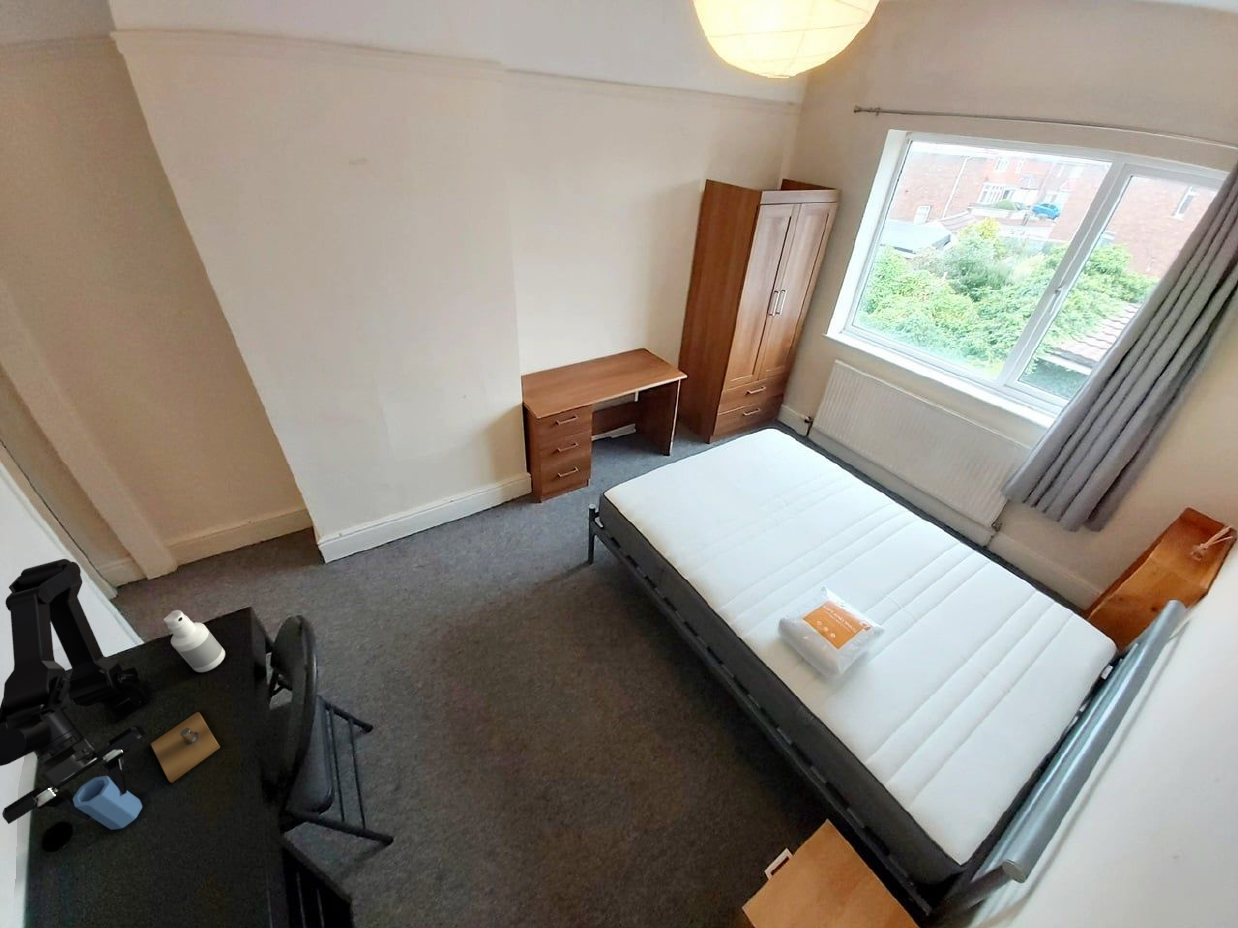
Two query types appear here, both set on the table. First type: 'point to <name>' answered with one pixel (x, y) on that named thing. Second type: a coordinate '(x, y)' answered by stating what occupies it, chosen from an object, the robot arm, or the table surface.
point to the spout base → (184, 746)
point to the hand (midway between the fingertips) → (107, 805)
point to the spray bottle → (194, 642)
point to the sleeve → (107, 803)
